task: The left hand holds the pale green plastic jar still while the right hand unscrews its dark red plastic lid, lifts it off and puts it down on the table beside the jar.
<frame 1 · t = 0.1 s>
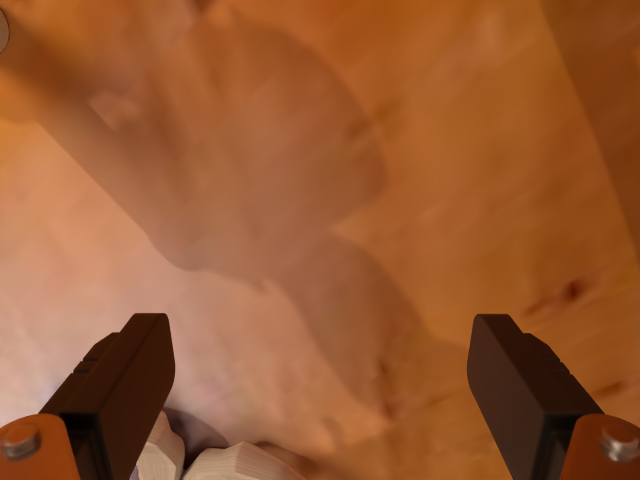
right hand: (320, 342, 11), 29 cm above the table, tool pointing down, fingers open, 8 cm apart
animal horns: (176, 473, 53), on the table
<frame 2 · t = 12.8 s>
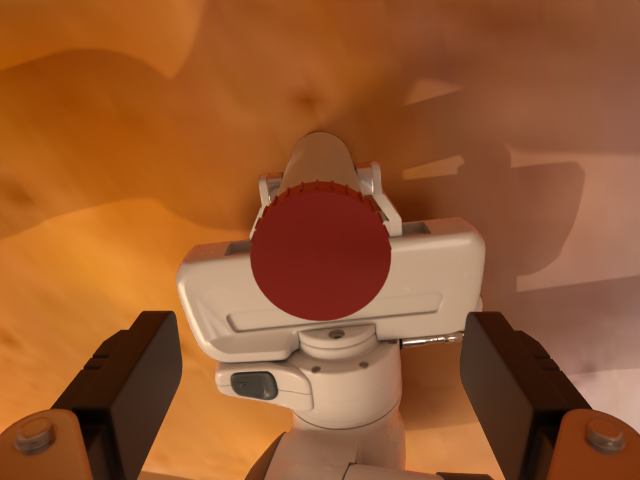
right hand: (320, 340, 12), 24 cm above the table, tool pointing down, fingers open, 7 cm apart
left hand: (317, 169, 27), fingers closed on jar, 5 cm apart
jar: (320, 162, 34), on the table, touching left hand
lid: (320, 256, 17), point 18 cm above the table, screwed on, not yet turned
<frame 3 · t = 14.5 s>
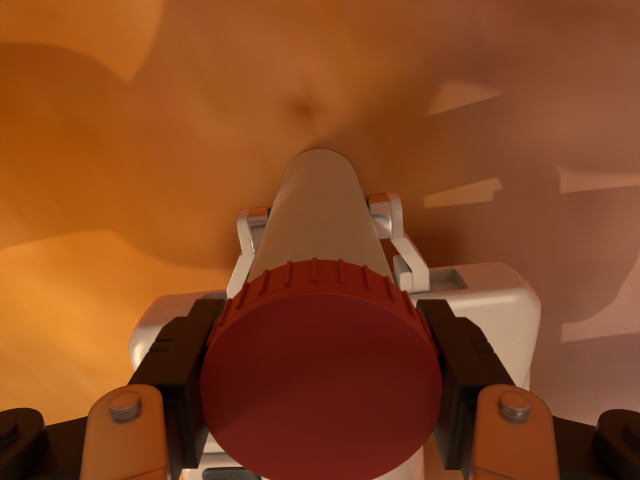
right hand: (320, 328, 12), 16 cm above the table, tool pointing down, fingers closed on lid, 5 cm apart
jar: (320, 187, 27), on the table, touching left hand
lid: (320, 390, 10), point 18 cm above the table, screwed on, not yet turned, touching right hand
when the right hand's fingers open (16 cm above the table, at t = 15.8 s): lid stays where it is, point 18 cm above the table.
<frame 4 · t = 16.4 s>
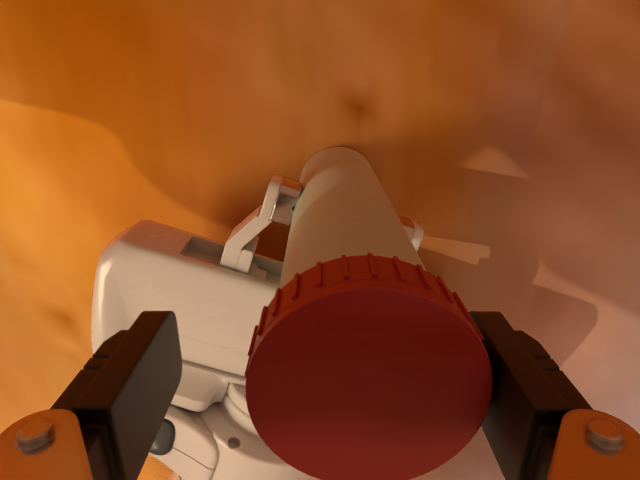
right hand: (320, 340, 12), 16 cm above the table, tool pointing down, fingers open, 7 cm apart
jar: (337, 184, 27), on the table, touching left hand
lid: (367, 386, 10), point 18 cm above the table, turned 59° so far, risen 0.2 cm, still on its thread
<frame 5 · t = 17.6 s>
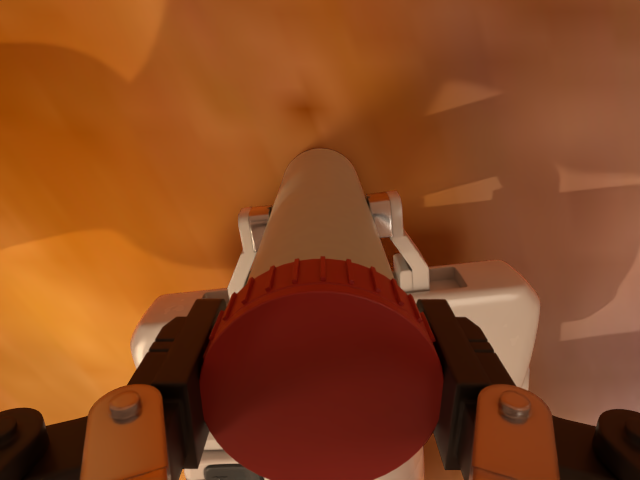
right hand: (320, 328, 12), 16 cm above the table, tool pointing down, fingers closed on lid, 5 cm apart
jar: (320, 186, 27), on the table, touching left hand
lid: (321, 389, 10), point 18 cm above the table, turned 59° so far, risen 0.2 cm, still on its thread, touching right hand
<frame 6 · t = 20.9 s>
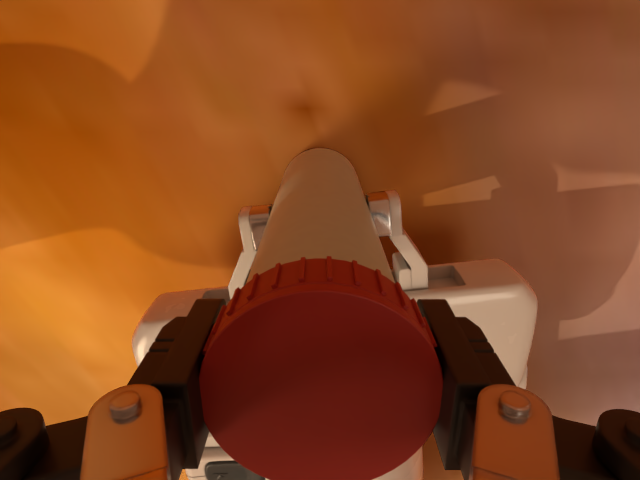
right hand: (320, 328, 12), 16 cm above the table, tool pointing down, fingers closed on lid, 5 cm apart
jar: (320, 185, 27), on the table, touching left hand
lid: (320, 389, 10), point 18 cm above the table, turned 118° so far, risen 0.4 cm, still on its thread, touching right hand
when the right hand's fingers open (0 cm above the table, at t = 27.9 s): lid drops 2 cm, point 1 cm above the table.
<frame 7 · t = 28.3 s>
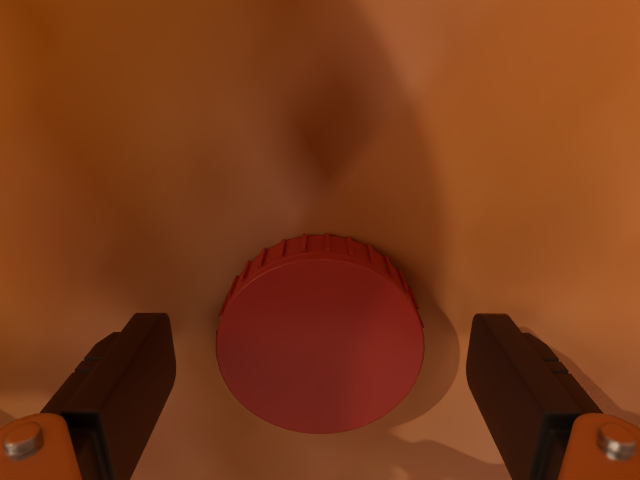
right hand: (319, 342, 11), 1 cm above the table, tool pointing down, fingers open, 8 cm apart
lid: (320, 346, 11), point 1 cm above the table, off its thread
when the left hand's fingers open (6 cm above the table, at t = 29.0 s): jar stays where it is, on the table.
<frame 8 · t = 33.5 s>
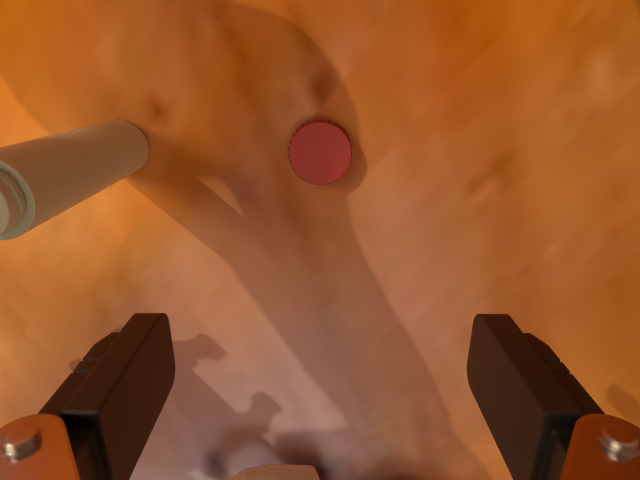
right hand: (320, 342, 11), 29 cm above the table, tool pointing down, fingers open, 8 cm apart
jar: (122, 147, 38), on the table
lid: (320, 153, 37), point 1 cm above the table, off its thread
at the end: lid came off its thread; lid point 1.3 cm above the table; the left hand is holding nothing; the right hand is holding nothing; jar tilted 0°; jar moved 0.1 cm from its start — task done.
